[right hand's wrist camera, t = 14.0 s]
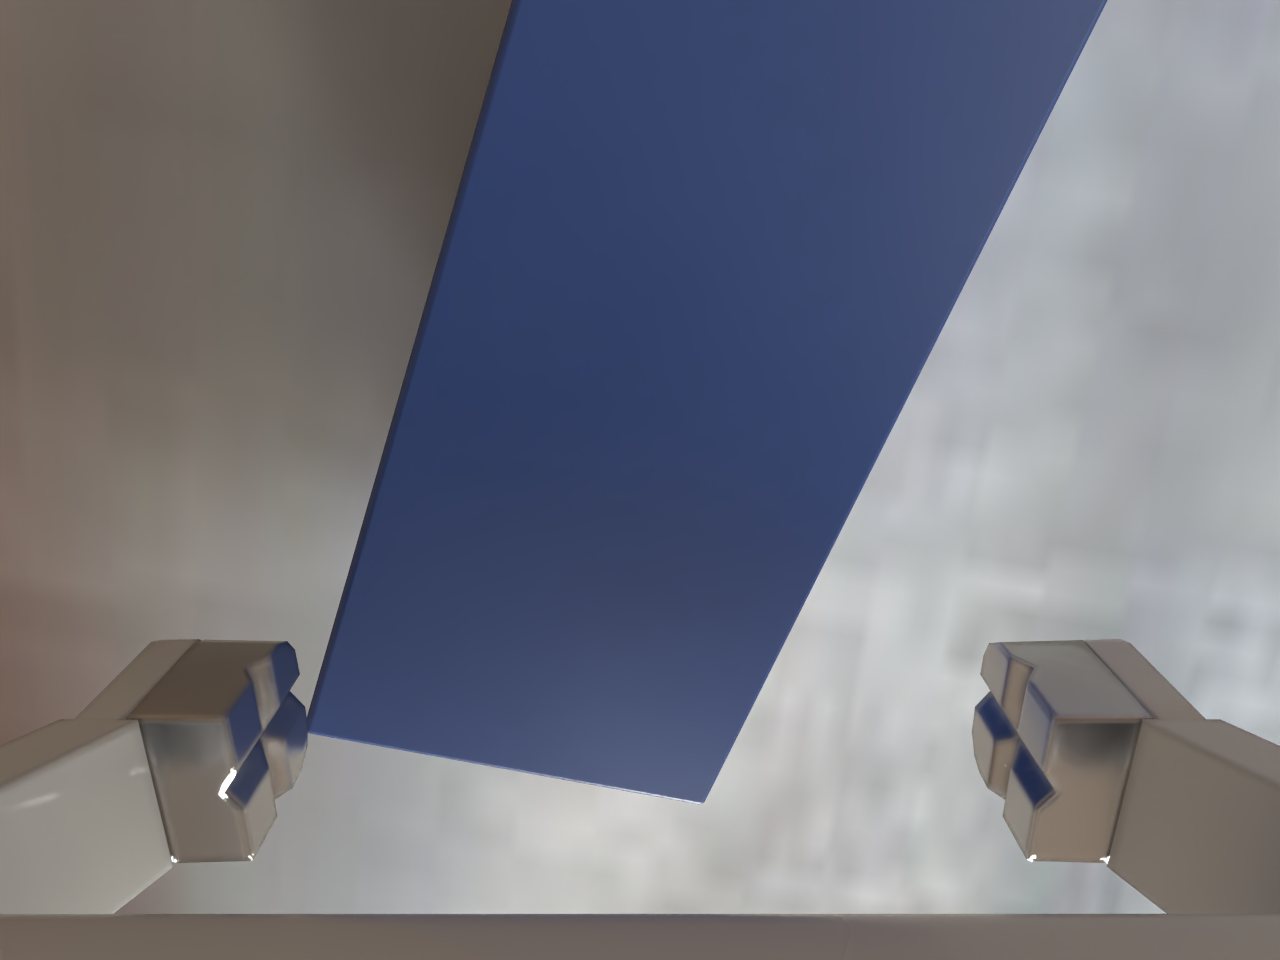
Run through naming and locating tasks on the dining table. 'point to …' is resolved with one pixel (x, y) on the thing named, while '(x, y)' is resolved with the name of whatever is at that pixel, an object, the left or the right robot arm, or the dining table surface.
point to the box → (669, 363)
